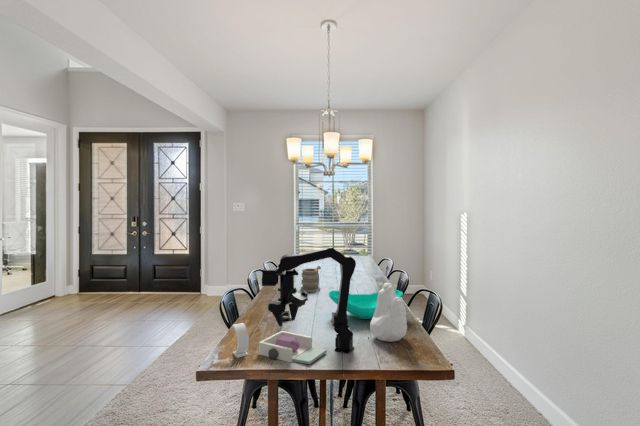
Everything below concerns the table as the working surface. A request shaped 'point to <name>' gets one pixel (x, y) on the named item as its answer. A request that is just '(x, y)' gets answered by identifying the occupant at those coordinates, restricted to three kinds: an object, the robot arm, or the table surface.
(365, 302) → the table top decor
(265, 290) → the table surface
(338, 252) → the robot arm
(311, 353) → the panel
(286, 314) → the black grey mechanical block
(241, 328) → the headphone stand
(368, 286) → the table surface
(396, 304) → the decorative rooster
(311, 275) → the tankard
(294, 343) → the dome-topped mauve block
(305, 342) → the wagon bed
